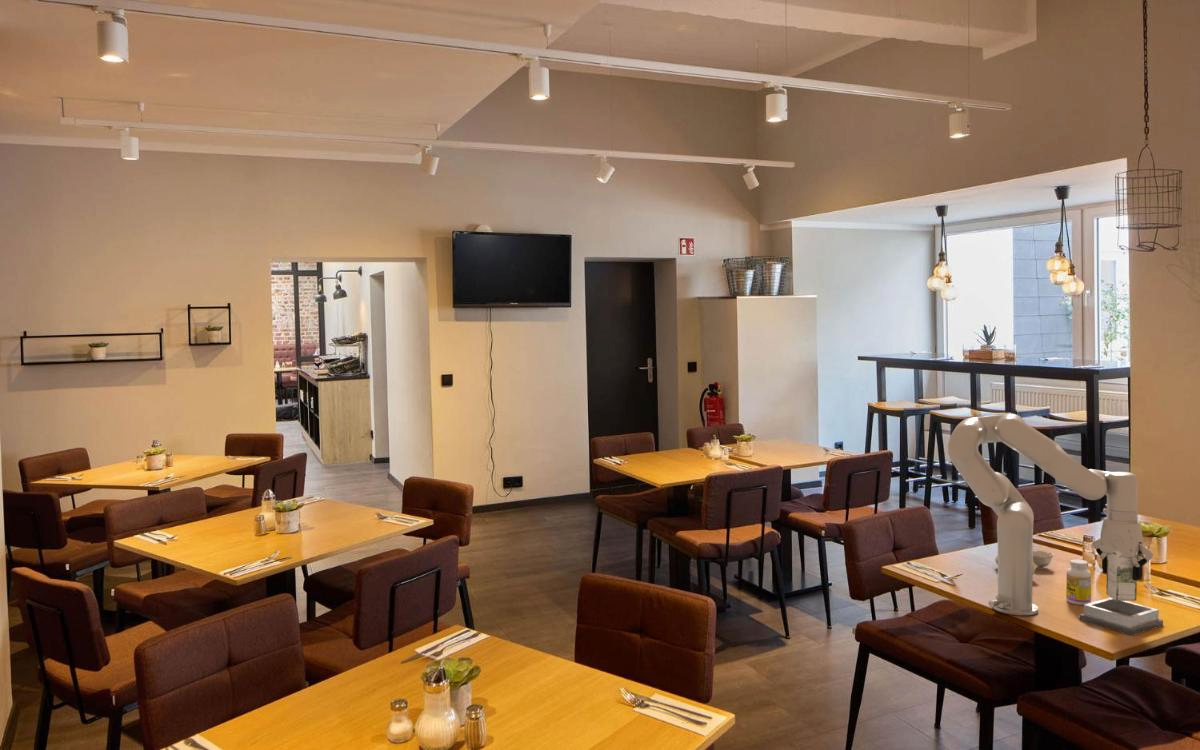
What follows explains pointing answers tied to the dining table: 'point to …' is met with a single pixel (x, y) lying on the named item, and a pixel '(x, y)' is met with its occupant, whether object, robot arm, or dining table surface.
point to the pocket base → (1121, 616)
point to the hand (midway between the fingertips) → (1121, 575)
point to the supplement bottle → (1078, 583)
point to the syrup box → (1120, 577)
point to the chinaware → (1038, 559)
